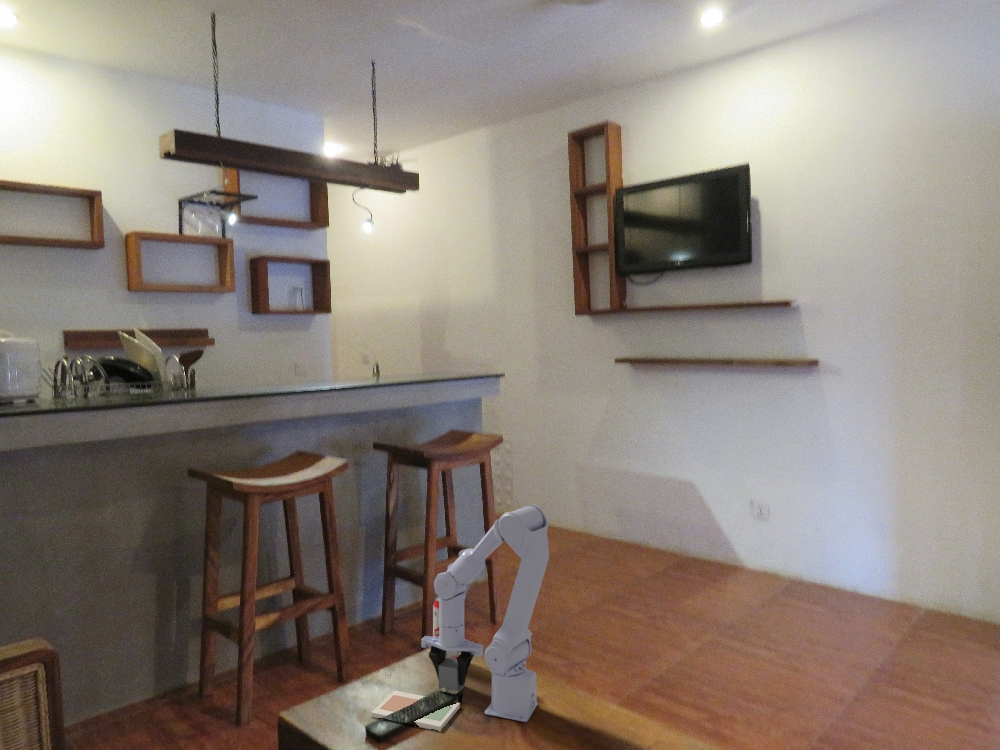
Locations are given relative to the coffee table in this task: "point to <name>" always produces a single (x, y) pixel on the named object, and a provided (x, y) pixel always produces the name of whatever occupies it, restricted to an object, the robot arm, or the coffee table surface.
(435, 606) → the beer can
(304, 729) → the coffee table surface
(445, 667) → the block
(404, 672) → the coffee table surface
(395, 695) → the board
